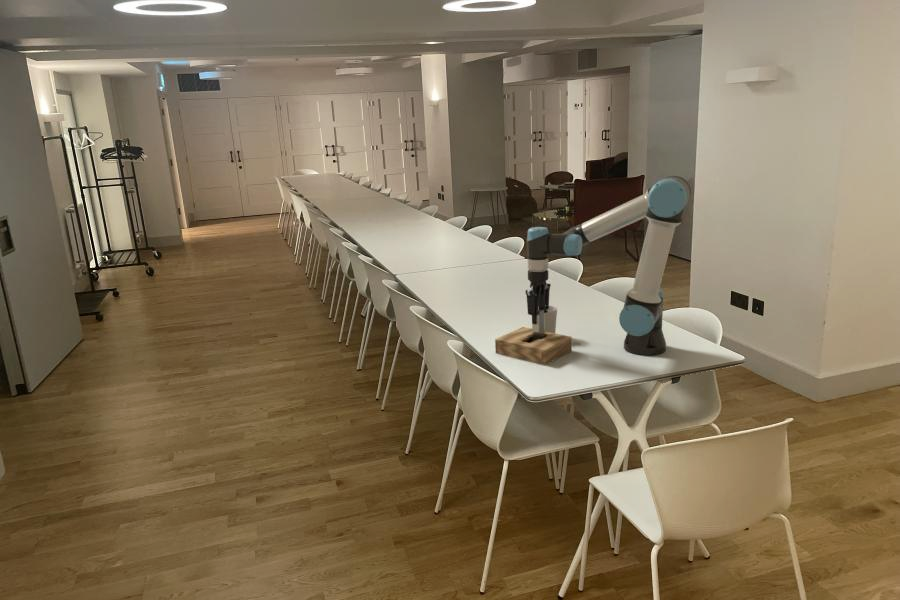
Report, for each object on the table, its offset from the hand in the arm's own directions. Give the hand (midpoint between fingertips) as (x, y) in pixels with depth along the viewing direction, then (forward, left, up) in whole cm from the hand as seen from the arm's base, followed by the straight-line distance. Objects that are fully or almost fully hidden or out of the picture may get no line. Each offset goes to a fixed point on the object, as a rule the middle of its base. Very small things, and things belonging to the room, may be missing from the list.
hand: (538, 330), depth 248 cm
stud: (0, 0, -7) cm, 7 cm away
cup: (+5, -13, -8) cm, 16 cm away
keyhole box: (0, +4, -8) cm, 8 cm away
